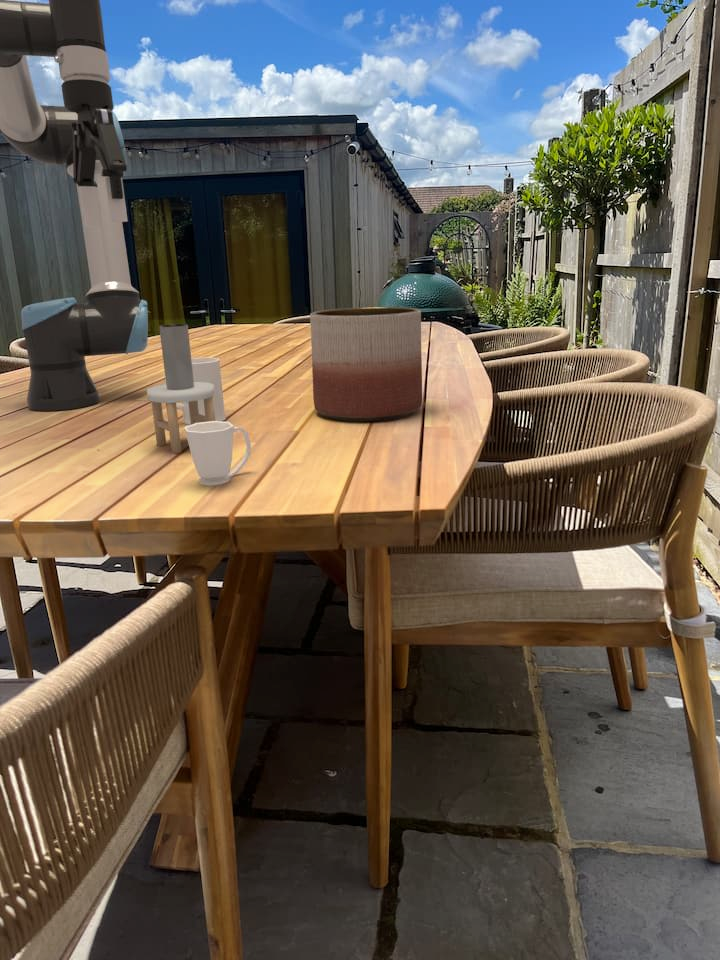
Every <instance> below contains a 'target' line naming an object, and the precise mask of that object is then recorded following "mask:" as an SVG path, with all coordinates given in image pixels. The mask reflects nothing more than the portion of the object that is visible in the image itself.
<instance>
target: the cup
mask: <svg viewBox="0 0 720 960" xmlns="http://www.w3.org/2000/svg"><path fill="white" fill-rule="evenodd" d="M183 429H184V431H185V436H186V439H187V443H188V447H189V451H190V454H191V458H192V461H193V464H194V467H195V469H196V472H197V474H198V476H199V477H200V478H199V479H198V481H199V483H200V485H201V486H209V487H211V486H212V487H213V486H219V485H225V484H226V483H227V482H229V481H231V480H230V479H231V478H232V477H234V476H235V475H236V474H237V473H238V472H240V470H241V469H242V468H243V467H244V465H245V464H246V463H247V462H248V460H249V457H250V456H251V452H252V444H251V443H252V442H251V439H250V436H249V434H248V433H247V431H246V430H245V429H244V428H241V427H238V426H234V425H233V423H231V421H209V422H200V423H195V424H192V425H186V426H185V427H184V428H183ZM237 431H240V433H241V434H242V435H243V437H244V441H245V445H246V448H245V449H246V450H245V454H244V456H243V458H242V460H240V462H239V463H238V464H237V465H236V466H235V468H234V469H233V470H231V466H232V462H233V447H234V445H233V444H234V433H236V432H237Z"/></svg>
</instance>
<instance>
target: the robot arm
mask: <svg viewBox="0 0 720 960" xmlns="http://www.w3.org/2000/svg"><path fill="white" fill-rule="evenodd" d="M102 16H103V14H102V8H101V0H48V3H45V2H33V1H21V0H20V1H18V0H0V133H1V135H2V136H3V137H4V138H5V140H6V141H7V142H8V143H9V144H10V146H12V147H13V148H15V149H16V150H17V151H18V152H20V153H22V154H23V155H24V156H26V157H28V158H31V159H32V160H35V161H36V162H39V163H43V164H47V165H57V166H58V165H62V166H63V165H64V166H66V172H67V174H68V175H69V176H70V177H72V178H73V179H72V180H73V183H74V184H76V189H77V190H76V191H77V196H78V203H79V209H80V216H81V217H80V218H81V223H82V224H81V225H82V231H83V237H84V244H85V251H86V258H87V265H88V272H89V280H90V285H91V286H90V289H89V291H88V292H87V293H86V294H85V299H86V303H78V302H77V300H76V298H75V297H64V298H60V299H59V298H58V299H53V300H52V299H51V300H46V301H42V302H37V303H36V302H35V303H32V304H28V305H26V306H24V307H23V308H21V312H20V316H21V317H20V318H21V325H22V326H21V329H22V331H23V335H24V340H25V346H26V353H27V358H28V363H29V368H30V378H29V384H28V390H27V396H26V401H27V407H28V409H29V410H31V411H32V410H33V411H37V412H38V411H39V412H41V411H44V412H45V411H46V412H50V411H64V410H73V409H79V408H85V407H88V406H93V405H95V404H98V403H99V402H100V396H99V391H98V389H97V387H96V384H95V383H94V381H93V379H92V377H91V375H90V372H88V369H87V364H86V359H85V358H86V357H95V356H96V357H97V356H107V355H108V356H109V355H121V354H122V355H123V354H125V355H128V354H134V353H141V352H144V351H145V350H146V348H147V346H148V335H149V334H148V333H149V331H148V328H149V319H148V318H149V314H148V313H149V311H148V302H147V300H144V299H141V297H140V292H139V291H138V290H137V289H136V288H135V287H133V286H132V283H131V275H130V269H129V268H130V267H129V262H128V254H127V247H126V240H125V234H124V232H125V231H124V226H123V223H125V222H127V223H128V222H129V220H128V215H127V214H128V213H127V206H126V198H125V189H124V182H123V177H124V172H126V171H127V170H128V169H127V168H128V166H127V164H128V157H127V150H126V146H125V141H124V136H123V133H122V130H121V129H122V128H121V125H120V122H119V120H118V117H117V115H116V113H114V111H113V110H114V100H113V93H112V87H111V86H110V85H109V84H108V83H109V82H110V81H111V74H110V67H109V66H110V65H109V59H108V58H109V57H108V53H107V49H106V43H105V42H106V41H105V33H104V32H105V31H104V24H103V17H102ZM27 56H31V57H32V56H33V57H46V58H47V57H48V58H53V60H54V62H55V63H57V64H58V71H59V77H60V79H61V80H62V81H63V82H62V84H61V87H60V88H61V93H62V100H63V105H42V104H39V103H38V101H37V97H36V94H35V89H34V85H33V82H32V81H33V80H32V75H31V72H30V68H29V64H28V60H27V59H28V58H27Z"/></svg>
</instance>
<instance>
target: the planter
mask: <svg viewBox="0 0 720 960" xmlns="http://www.w3.org/2000/svg"><path fill="white" fill-rule="evenodd" d="M309 318H310V321H309V322H310V325H309V326H310V340H311V341H310V343H311V344H310V345H311V368H312V369H311V371H312V391H313V392H312V393H313V394H312V395H313V406H314V410H315V411H316V412H317V413H319V414H320V415H322V416H324V417H326V418H329V419H333V420H338V421H347V422H380V421H381V422H382V421H388V420H395V419H400V418H404V417H407V416H409V415H412V414H414V413H415V412H417V411H418V410H419V409H420V408H421V407H422V405H423V369H422V368H423V367H422V361H423V360H422V311H421V309H418V308H415V307H403V306H402V307H400V306H399V307H398V306H376V307H375V306H371V307H367V306H365V307H348V308H346V307H345V308H332V309H324V310H322V309H321V310H318V311H313V312H311V313H310V314H309Z"/></svg>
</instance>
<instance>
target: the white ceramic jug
mask: <svg viewBox="0 0 720 960" xmlns="http://www.w3.org/2000/svg"><path fill="white" fill-rule="evenodd" d="M191 360H192V370H193V379H194V382H206V383H211V384H213V385H214V392H215V395H214V396H213V402H214V412H215V421H223V422H226V420H227V415H226V411H225V404H224V394H223V384H222V383H223V382H222V380H223V379H222V372H221V371H222V370H221V361H220V358H217V357H191ZM163 384H166V379H165V380H164V383H163ZM197 401H198V410H199V414H201V415H204V416H205V409H204V399H203V400H197ZM176 408H177V411H178V410H179V411H182V423H183V424H185V425H187V426H189V425H191V422H190V413H189V404H188V402H181V404H177V403H176Z"/></svg>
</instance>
